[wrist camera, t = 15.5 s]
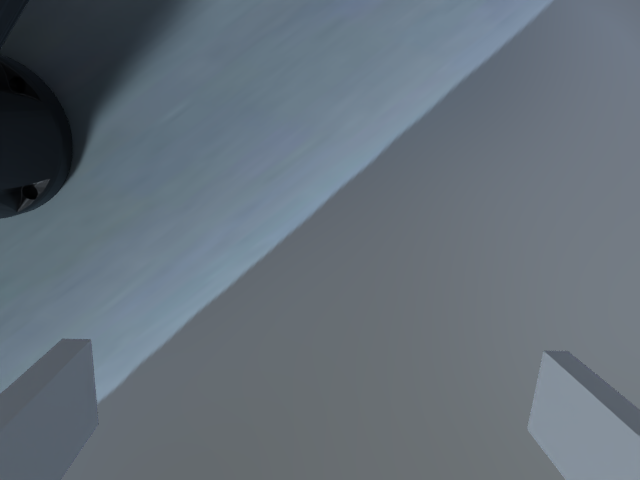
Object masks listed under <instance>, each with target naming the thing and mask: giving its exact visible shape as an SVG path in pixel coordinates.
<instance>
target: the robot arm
mask: <svg viewBox="0 0 640 480" xmlns="http://www.w3.org/2000/svg"><path fill="white" fill-rule="evenodd" d="M28 1H29V0H0V49H1V47H2V45H3V44H4V42H5V40H6V38H7V37H8V35H9V33H10V32H11V30H12V28H13V27H14V25H15V23H16V22H17V20H18V18H19V17H20V15H21V13H22V11H23V10H24V8H25V6H26V5H27V3H28ZM71 160H72V136H71V131H70V127H69V123H68V120H67V117H66V115H65V113H64V110H63V108H62V107H61V105H60V103H59V101H58V100H57V98H56V97H55V95H54V94H53V92H52V91H51V90H50V89H49V87H48V86H47V85H46V84H45V83H44V82H43V81H42V80H41V79H40V78H39V77H38V76H37V75H35V74H34V73H33V72H32V71H30V70H29V69H28V68H26V67H25V66H23V65H21V64H20V63H18V62H16V61H14V60H12V59H10V58H7V57H5V56H2V55H0V219H1V218H7V217H12V216H15V215H18V214H22V213H25V212H28V211H31V210H34V209H36V208H38V207H40V206H41V205H43V204H44V203H46V202H47V201H49V200H50V199H51V198H52V197H53V196H54V195H55V194H56V193H57V192H58V190H59V189H60V188H61V186H62V185H63V183H64V181H65V179H66V177H67V175H68V172H69V169H70V165H71ZM98 424H99V423H98V412H97V400H96V389H95V378H94V367H93V356H92V345H91V339H62V340H61V341H60V342H58V343H57V344H56V345H55V346H54V347H53V348H52V349H51V350H49V351H48V352H47V353H46V354H45V355H44V356H43V357H42V358H40V359H39V360H38V361H37V362H36V363H35V364H34V365H33V366H31V367H30V368H29V369H28V370H27V371H26V372H25V373H24V374H22V375H21V376H20V377H19V378H18V379H17V380H16V381H15V382H13V383H12V384H11V385H10V386H9V387H8V388H7V389H5V390H4V391H3V392H2V393H1V394H0V480H61V479H62V477H63V476H64V474H65V473H66V471H67V470H68V468H69V467H70V466H71V464H72V463H73V461H74V459H75V458H76V457H77V455H78V454H79V452H80V451H81V449H82V447H83V446H84V445H85V443H86V442H87V440H88V439H89V438H90V436H91V435H92V433H93V432H94V430H95V429H96V427H97V425H98ZM528 431H529V432H530V433H531V435H532V436H533V437H534V439H535V440H536V441H537V443H538V444H539V445H540V447H541V448H542V449H543V450H544V452H545V453H546V454H547V456H548V457H549V458H550V460H551V461H552V462H553V463H554V465H555V466H556V467H557V469H558V470H559V471H560V473H561V474H562V475H563V477H564V478H565V479H566V480H640V410H639V409H638V408H637V407H636V406H634V405H633V404H632V403H631V402H630V401H628V400H627V399H626V398H625V397H624V396H622V395H621V394H620V393H619V392H617V391H616V390H615V389H614V388H613V387H611V386H610V385H609V384H608V383H606V382H605V381H604V380H603V379H602V378H600V377H599V376H598V375H597V374H595V373H594V372H593V371H592V370H591V369H589V368H588V367H587V366H586V365H584V364H583V363H582V362H581V361H580V360H578V359H577V358H576V357H574V356H573V355H572V354H571V353H570V352H568V351H543V356H542V361H541V366H540V371H539V376H538V381H537V385H536V390H535V395H534V399H533V404H532V409H531V414H530V419H529V423H528Z"/></svg>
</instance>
